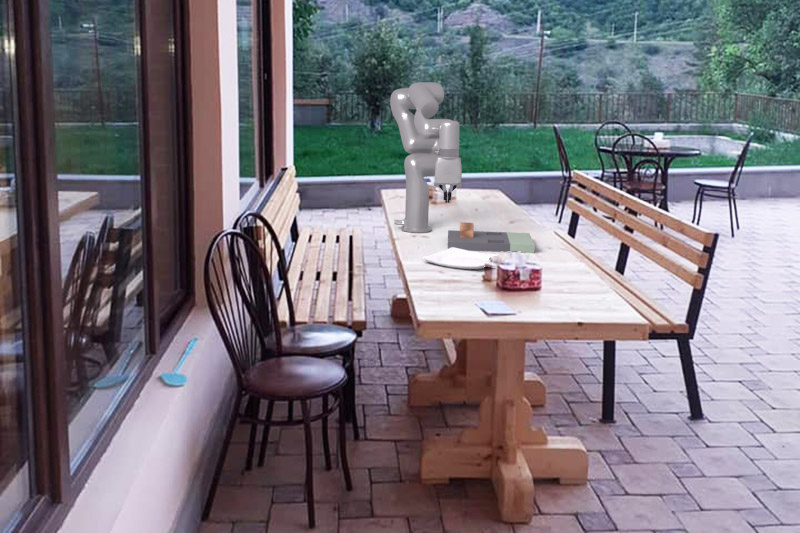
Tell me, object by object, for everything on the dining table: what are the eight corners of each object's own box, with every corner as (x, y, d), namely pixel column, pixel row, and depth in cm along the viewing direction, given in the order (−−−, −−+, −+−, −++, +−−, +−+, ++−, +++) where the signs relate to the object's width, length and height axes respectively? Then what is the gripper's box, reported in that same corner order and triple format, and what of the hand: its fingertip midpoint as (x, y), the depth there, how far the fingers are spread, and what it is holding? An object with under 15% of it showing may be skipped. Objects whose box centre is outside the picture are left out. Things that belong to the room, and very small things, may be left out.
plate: (416, 264, 312) (417, 257, 312) (450, 253, 333) (451, 246, 332) (480, 274, 300) (480, 267, 299) (511, 262, 320) (512, 255, 320)
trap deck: (447, 249, 337) (448, 241, 336) (447, 237, 360) (448, 230, 359) (534, 252, 335) (534, 244, 335) (528, 240, 359) (529, 233, 358)
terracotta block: (459, 237, 345) (460, 224, 344) (459, 235, 350) (460, 222, 349) (473, 237, 345) (473, 225, 344) (472, 235, 350) (473, 222, 349)
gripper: (428, 154, 337) (427, 203, 341) (468, 155, 337) (467, 204, 340) (429, 152, 345) (427, 200, 348) (468, 153, 344) (466, 201, 348)
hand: (447, 202), depth 344 cm, fingers closed
